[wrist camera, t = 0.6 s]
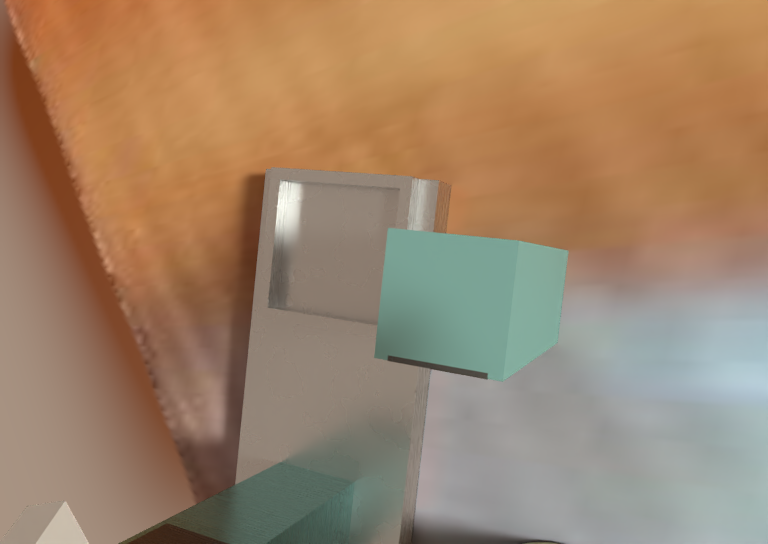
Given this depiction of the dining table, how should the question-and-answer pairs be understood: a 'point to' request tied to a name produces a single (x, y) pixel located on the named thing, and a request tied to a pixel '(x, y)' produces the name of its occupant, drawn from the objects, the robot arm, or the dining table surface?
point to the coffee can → (541, 543)
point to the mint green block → (468, 302)
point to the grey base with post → (323, 373)
